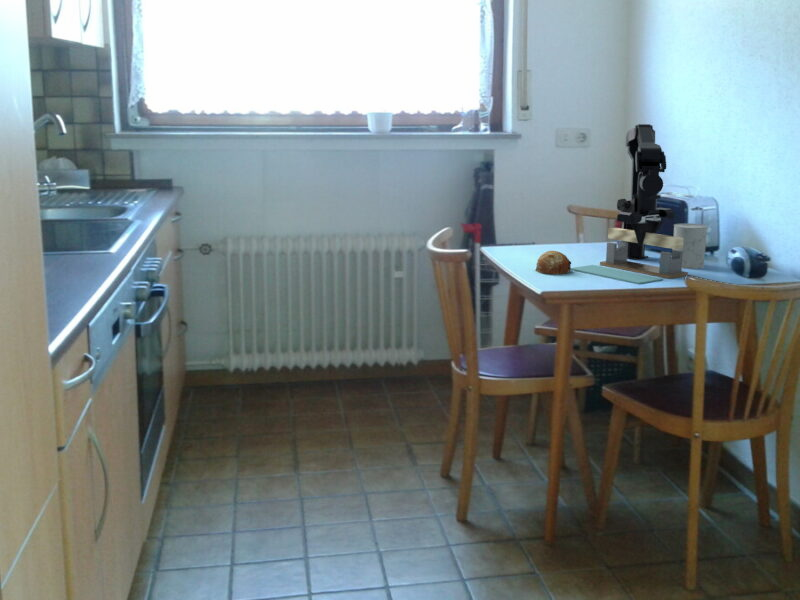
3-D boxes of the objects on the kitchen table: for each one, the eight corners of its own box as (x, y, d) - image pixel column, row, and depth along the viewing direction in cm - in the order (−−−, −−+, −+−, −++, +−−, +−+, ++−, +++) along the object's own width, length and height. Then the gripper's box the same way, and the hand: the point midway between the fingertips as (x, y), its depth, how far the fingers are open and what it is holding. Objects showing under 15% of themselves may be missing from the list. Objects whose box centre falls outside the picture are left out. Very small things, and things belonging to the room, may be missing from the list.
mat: (592, 266, 267) (592, 264, 267) (662, 280, 246) (662, 278, 246) (569, 269, 261) (569, 268, 261) (638, 284, 240) (638, 282, 240)
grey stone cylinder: (706, 264, 270) (709, 224, 267) (702, 269, 261) (705, 228, 259) (673, 262, 274) (676, 222, 271) (668, 267, 265) (671, 226, 263)
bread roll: (537, 280, 264) (527, 256, 262) (568, 265, 264) (558, 241, 262) (546, 287, 255) (535, 262, 253) (578, 271, 254) (567, 247, 252)
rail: (608, 238, 268) (608, 228, 267) (614, 237, 269) (615, 227, 269) (676, 249, 248) (676, 238, 247) (682, 248, 249) (683, 237, 249)
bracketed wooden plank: (599, 265, 269) (600, 242, 267) (617, 262, 273) (618, 239, 271) (669, 278, 248) (671, 254, 246) (687, 275, 252) (689, 251, 251)
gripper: (646, 187, 267) (643, 238, 270) (603, 190, 256) (601, 244, 260) (676, 190, 258) (673, 243, 261) (634, 194, 248) (630, 249, 251)
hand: (644, 244), depth 259 cm, fingers closed on rail, 3 cm apart
